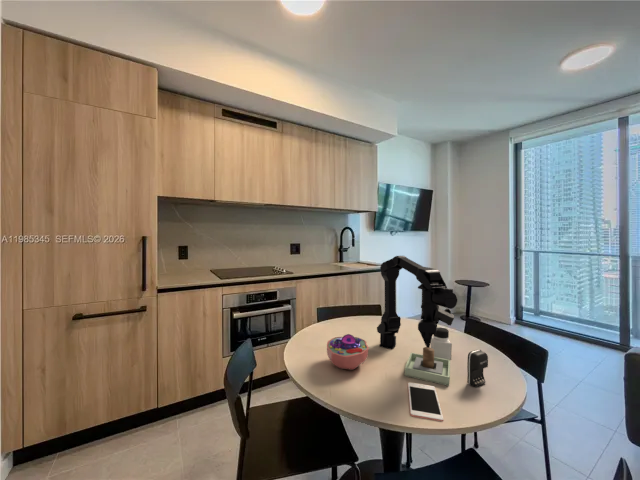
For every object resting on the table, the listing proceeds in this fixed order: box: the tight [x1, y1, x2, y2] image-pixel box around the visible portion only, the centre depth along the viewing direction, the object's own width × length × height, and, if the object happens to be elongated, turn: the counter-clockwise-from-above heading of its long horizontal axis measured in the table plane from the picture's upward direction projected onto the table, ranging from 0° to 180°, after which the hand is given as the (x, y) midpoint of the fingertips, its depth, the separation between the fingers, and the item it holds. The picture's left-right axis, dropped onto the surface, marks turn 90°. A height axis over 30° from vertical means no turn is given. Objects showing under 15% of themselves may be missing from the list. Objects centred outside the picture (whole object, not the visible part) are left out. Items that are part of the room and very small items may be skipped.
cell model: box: [326, 333, 370, 370], centre depth 111 cm, size 17×20×11 cm
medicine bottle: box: [430, 326, 453, 361], centre depth 120 cm, size 7×7×12 cm
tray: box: [404, 352, 451, 387], centre depth 106 cm, size 15×15×3 cm
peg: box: [422, 346, 434, 369], centre depth 106 cm, size 4×4×8 cm
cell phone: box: [407, 382, 444, 422], centre depth 88 cm, size 9×18×1 cm, turn 165°
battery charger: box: [466, 349, 489, 387], centre depth 97 cm, size 7×4×11 cm, turn 117°
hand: (429, 342), depth 106 cm, fingers open, 9 cm apart
